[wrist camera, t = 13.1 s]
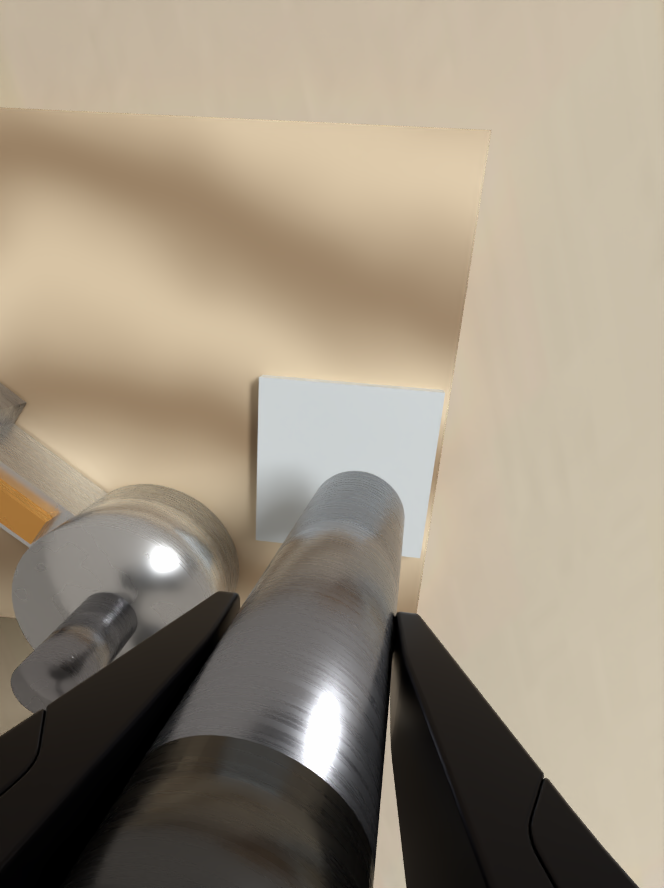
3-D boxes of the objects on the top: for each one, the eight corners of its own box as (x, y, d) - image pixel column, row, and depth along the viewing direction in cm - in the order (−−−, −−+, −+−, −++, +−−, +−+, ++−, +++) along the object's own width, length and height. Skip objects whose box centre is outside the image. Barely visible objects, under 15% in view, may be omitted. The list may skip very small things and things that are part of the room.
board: (405, 642, 20) (407, 667, 19) (-36, 588, 21) (-65, 608, 20) (478, 148, 14) (491, 130, 13) (-138, 118, 15) (-190, 98, 14)
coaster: (418, 549, 17) (420, 558, 16) (259, 532, 17) (255, 540, 17) (442, 389, 15) (445, 392, 14) (263, 374, 15) (258, 377, 15)
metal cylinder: (409, 476, 12) (367, 1019, 3) (399, 564, 13) (338, 1235, 3) (312, 465, 13) (-22, 884, 3) (309, 550, 13) (30, 1100, 4)
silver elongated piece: (272, 557, 17) (218, 691, 11) (180, 656, 19) (90, 817, 13) (-67, 296, 15) (-360, 283, 9) (-132, 435, 17) (-410, 502, 11)
